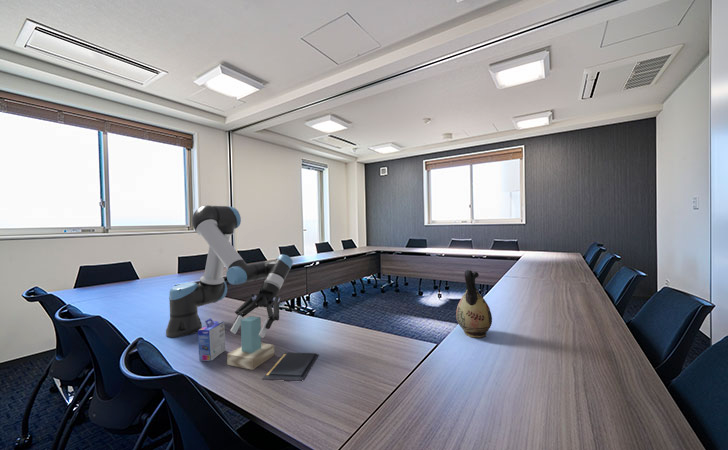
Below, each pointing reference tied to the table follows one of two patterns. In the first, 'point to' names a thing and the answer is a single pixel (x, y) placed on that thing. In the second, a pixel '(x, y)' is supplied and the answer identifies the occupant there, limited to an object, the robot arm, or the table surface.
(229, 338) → the table surface
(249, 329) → the teal block
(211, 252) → the robot arm
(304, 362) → the wallet
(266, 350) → the birch riser
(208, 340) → the ink cartridge box
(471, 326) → the ceramic jug
